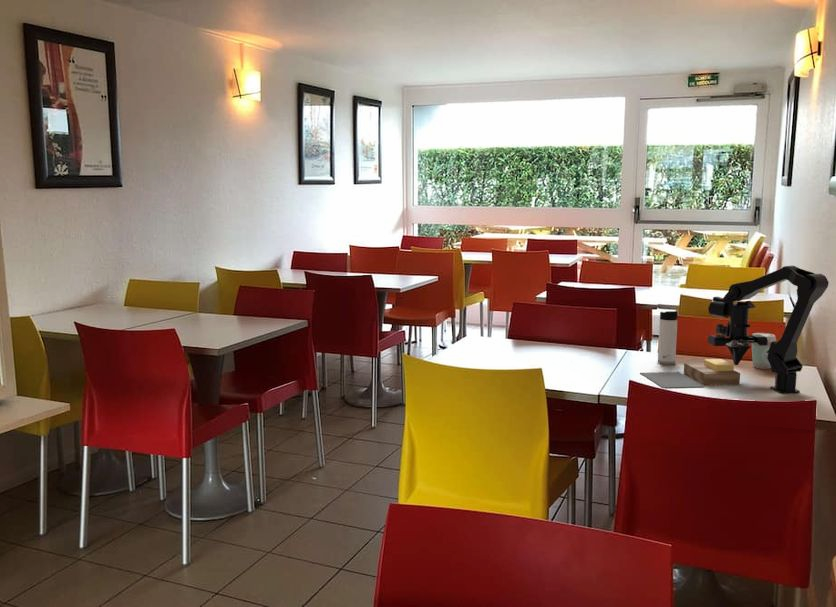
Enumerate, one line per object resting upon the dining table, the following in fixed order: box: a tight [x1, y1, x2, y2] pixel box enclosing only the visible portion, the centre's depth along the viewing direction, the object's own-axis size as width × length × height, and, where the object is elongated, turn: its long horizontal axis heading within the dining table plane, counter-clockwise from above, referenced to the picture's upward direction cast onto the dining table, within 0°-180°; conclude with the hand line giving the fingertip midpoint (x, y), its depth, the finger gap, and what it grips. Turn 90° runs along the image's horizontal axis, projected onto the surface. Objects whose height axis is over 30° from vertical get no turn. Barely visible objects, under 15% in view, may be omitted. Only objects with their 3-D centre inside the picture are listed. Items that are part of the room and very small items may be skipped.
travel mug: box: [657, 310, 679, 366], centre depth 277 cm, size 6×7×20 cm
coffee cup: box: [751, 332, 777, 370], centre depth 271 cm, size 8×8×12 cm
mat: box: [639, 371, 705, 389], centre depth 253 cm, size 20×14×1 cm
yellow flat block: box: [703, 358, 735, 371], centre depth 253 cm, size 9×6×2 cm, turn 5°
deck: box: [683, 362, 741, 387], centre depth 254 cm, size 16×12×4 cm
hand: (736, 364), depth 254 cm, fingers closed
